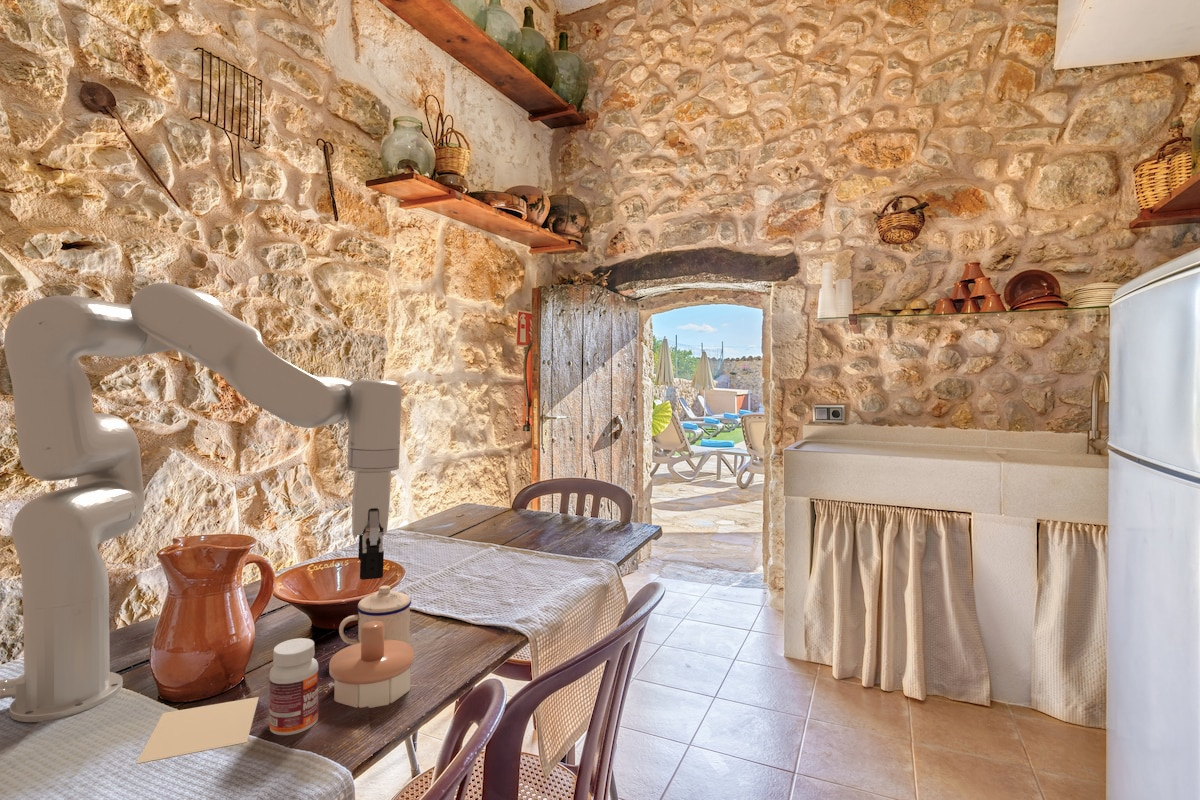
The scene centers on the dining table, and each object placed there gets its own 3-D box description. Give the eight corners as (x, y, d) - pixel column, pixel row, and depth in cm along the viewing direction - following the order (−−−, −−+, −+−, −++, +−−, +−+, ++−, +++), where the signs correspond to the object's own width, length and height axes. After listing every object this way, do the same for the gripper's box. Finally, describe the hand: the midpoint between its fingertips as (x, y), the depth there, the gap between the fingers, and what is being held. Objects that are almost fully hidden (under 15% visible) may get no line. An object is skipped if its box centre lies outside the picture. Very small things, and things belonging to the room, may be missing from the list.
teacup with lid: (405, 636, 113) (405, 575, 112) (415, 656, 105) (416, 591, 104) (336, 649, 107) (336, 585, 106) (341, 671, 99) (342, 602, 98)
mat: (136, 766, 74) (136, 763, 74) (163, 715, 85) (163, 712, 85) (246, 744, 79) (246, 742, 79) (258, 699, 90) (258, 696, 90)
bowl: (333, 714, 86) (334, 687, 86) (335, 679, 96) (335, 654, 96) (412, 699, 91) (413, 674, 90) (405, 667, 101) (406, 644, 100)
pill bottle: (312, 735, 81) (312, 654, 81) (263, 740, 80) (263, 657, 79) (322, 710, 87) (323, 634, 87) (276, 715, 86) (277, 638, 85)
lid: (328, 691, 85) (328, 648, 85) (330, 653, 96) (330, 616, 96) (417, 675, 90) (418, 635, 90) (409, 641, 101) (410, 605, 101)
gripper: (347, 452, 99) (344, 554, 99) (347, 468, 83) (343, 589, 83) (394, 452, 101) (391, 550, 102) (404, 467, 86) (400, 584, 86)
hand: (370, 568), depth 93 cm, fingers open, 9 cm apart
